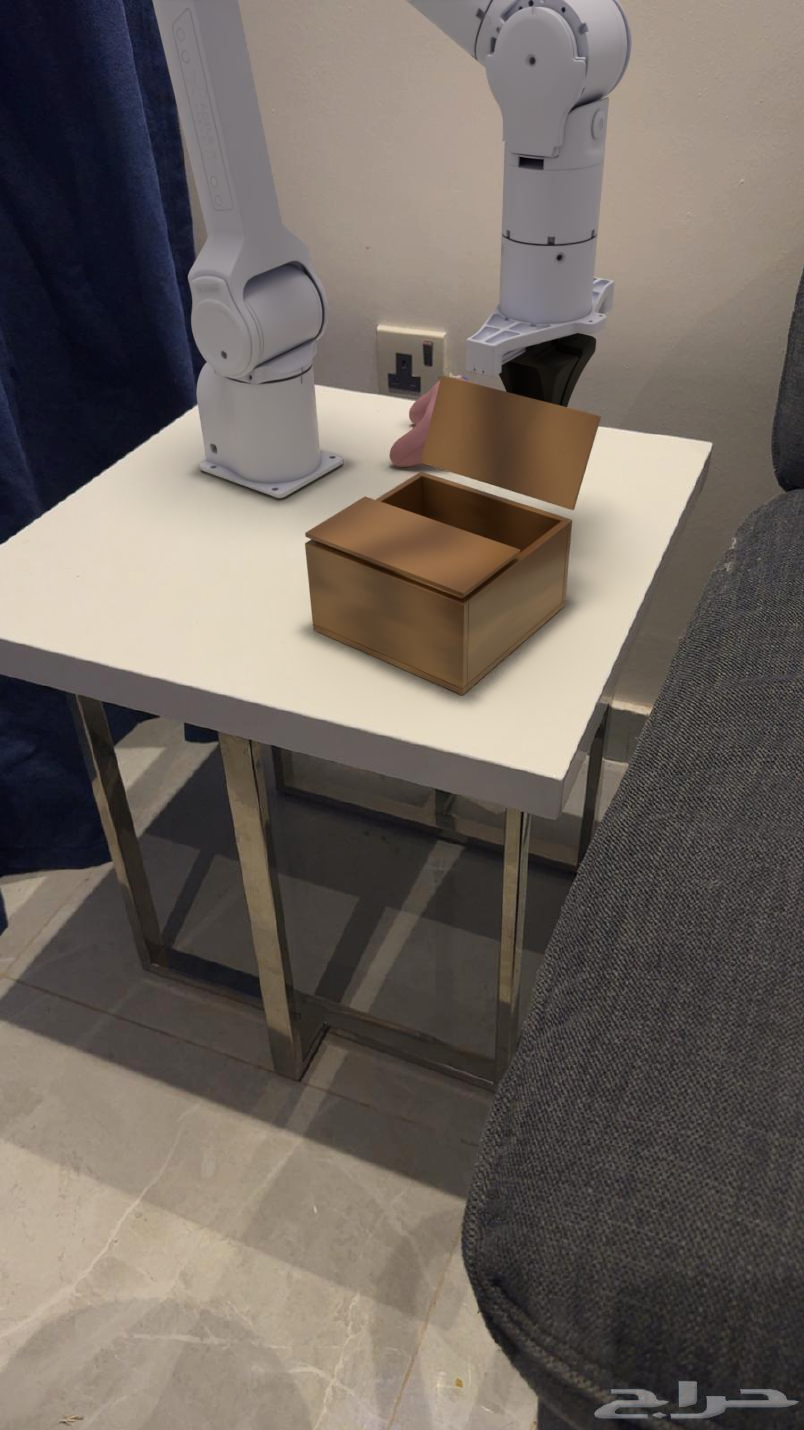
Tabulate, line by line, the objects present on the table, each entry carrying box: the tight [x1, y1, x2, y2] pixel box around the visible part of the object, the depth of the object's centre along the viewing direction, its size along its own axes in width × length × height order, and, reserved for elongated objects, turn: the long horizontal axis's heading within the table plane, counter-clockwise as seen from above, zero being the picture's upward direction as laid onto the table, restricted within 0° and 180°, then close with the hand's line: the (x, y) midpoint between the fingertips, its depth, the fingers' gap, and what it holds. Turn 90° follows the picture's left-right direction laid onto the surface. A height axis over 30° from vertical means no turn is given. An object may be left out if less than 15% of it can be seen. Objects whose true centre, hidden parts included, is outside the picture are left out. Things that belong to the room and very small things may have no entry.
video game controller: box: [389, 371, 473, 468], centre depth 87 cm, size 10×5×7 cm, turn 168°
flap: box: [420, 374, 602, 511], centre depth 67 cm, size 12×6×1 cm
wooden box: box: [304, 471, 573, 696], centre depth 66 cm, size 12×12×7 cm
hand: (536, 446), depth 70 cm, fingers closed
